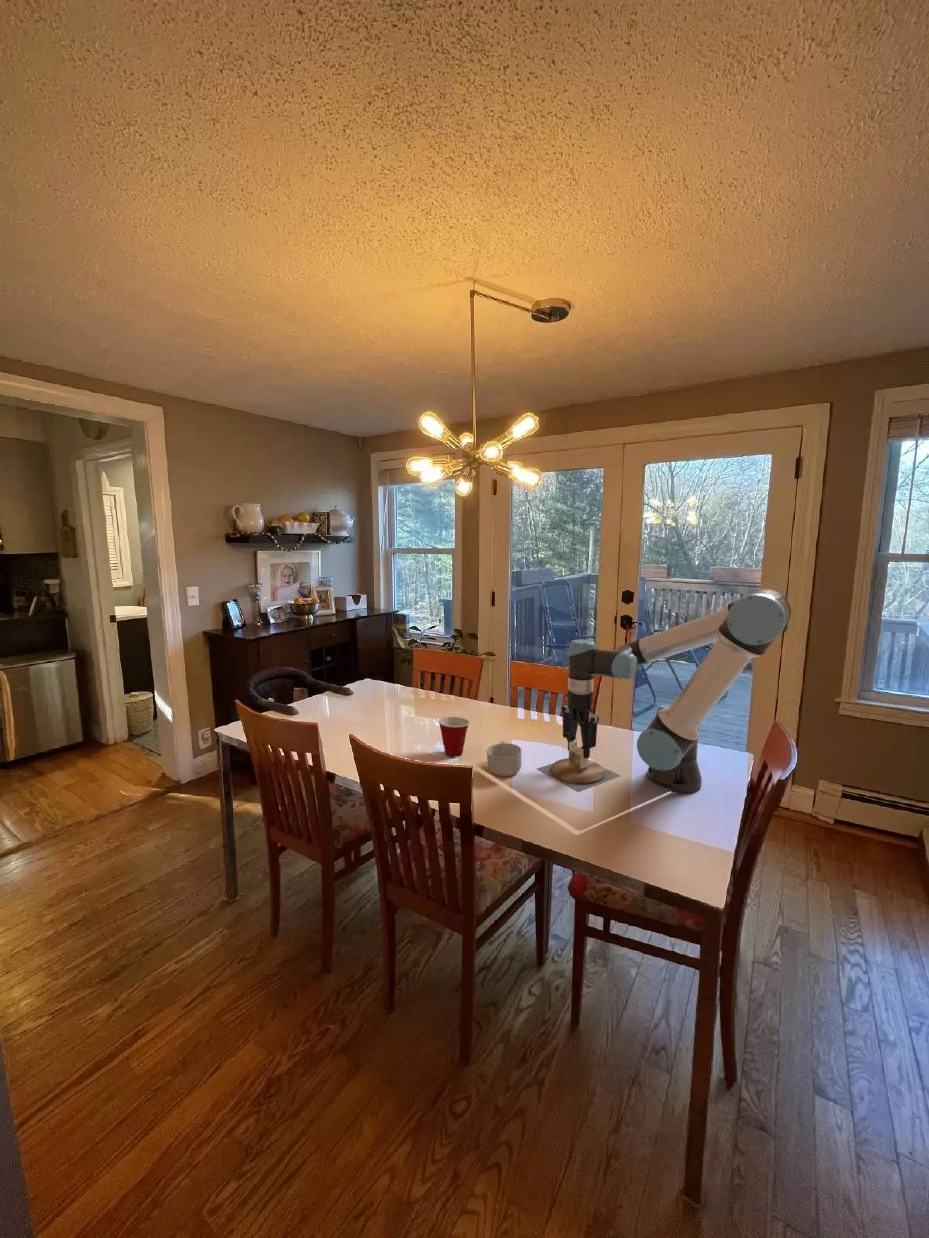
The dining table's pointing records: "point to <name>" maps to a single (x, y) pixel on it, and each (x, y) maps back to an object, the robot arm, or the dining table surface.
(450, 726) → the plastic cup
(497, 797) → the dining table surface
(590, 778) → the lid
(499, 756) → the teacup
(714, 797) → the dining table surface
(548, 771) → the mat
